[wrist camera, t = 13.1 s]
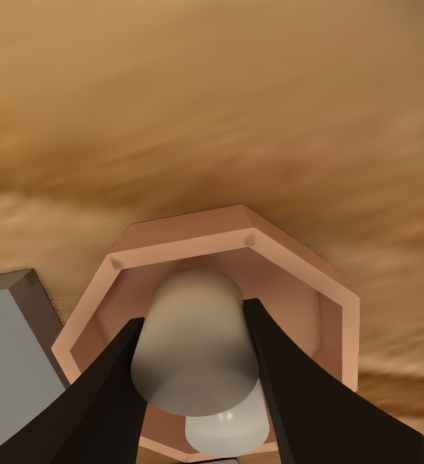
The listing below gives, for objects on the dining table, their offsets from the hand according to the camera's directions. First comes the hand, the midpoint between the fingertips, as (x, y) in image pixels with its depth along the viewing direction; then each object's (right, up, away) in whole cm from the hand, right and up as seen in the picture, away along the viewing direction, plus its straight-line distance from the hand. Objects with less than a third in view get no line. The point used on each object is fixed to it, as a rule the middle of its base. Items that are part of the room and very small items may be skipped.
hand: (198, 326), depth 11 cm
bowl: (+1, -2, +5) cm, 5 cm away
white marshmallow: (+1, -5, +6) cm, 8 cm away
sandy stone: (0, +1, +1) cm, 1 cm away
